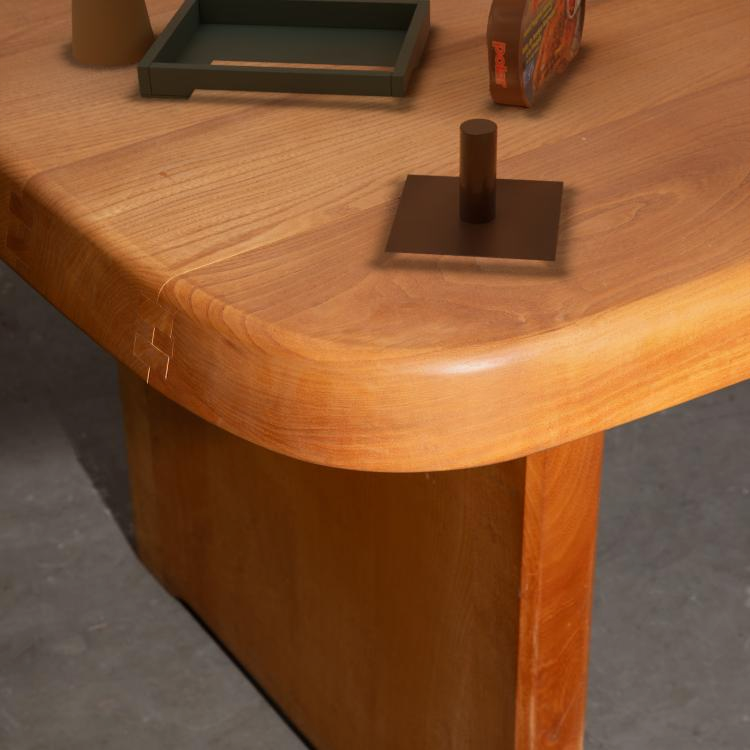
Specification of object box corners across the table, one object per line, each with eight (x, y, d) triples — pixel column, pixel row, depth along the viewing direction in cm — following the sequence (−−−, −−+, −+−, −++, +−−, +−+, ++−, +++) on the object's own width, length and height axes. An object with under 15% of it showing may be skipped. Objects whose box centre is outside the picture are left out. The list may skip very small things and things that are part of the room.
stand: (562, 199, 83) (568, 94, 80) (554, 280, 76) (559, 168, 72) (407, 192, 85) (406, 88, 81) (384, 270, 77) (381, 160, 74)
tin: (524, 133, 91) (529, 3, 86) (477, 126, 92) (478, -3, 87) (587, 45, 102) (594, -74, 97) (544, 40, 103) (549, -78, 98)
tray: (430, 34, 105) (430, -1, 103) (404, 114, 94) (403, 76, 92) (193, 26, 107) (190, -8, 106) (141, 103, 96) (136, 66, 95)
